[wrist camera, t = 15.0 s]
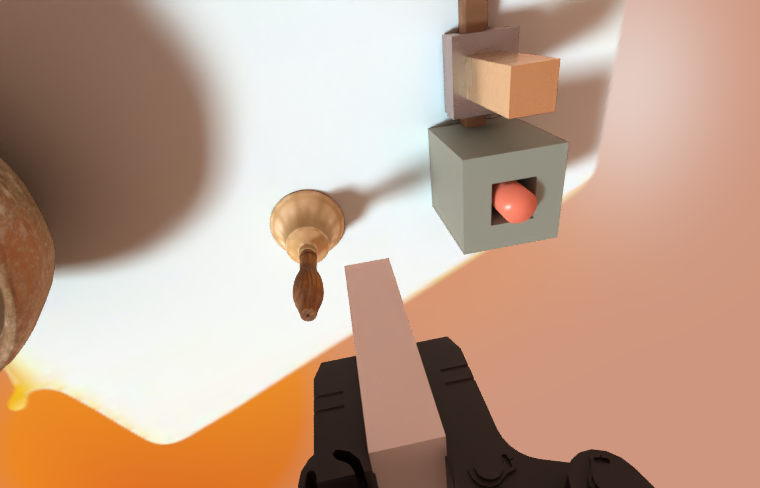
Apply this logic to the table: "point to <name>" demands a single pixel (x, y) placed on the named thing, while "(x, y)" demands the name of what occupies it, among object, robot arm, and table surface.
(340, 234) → the hand bell
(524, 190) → the red rounded peg
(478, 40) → the block
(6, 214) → the bowl
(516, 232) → the grey hole block
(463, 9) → the rail
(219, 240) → the table surface
